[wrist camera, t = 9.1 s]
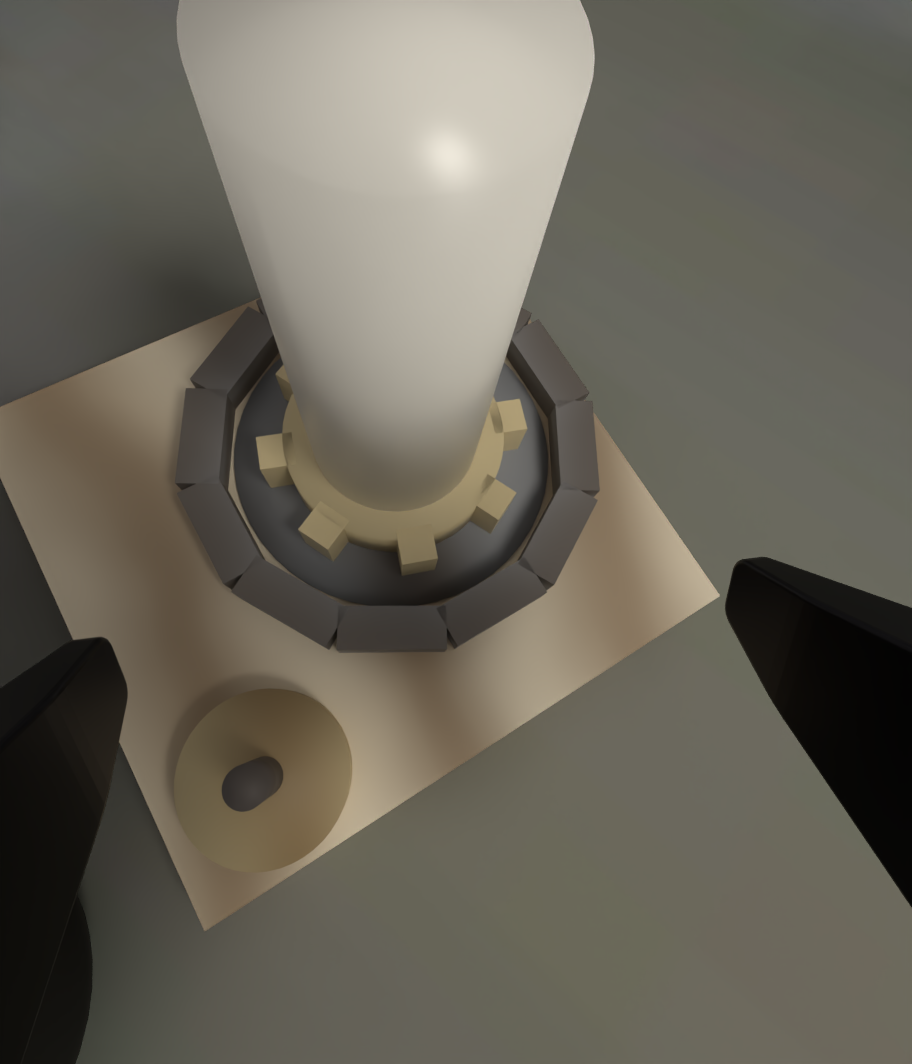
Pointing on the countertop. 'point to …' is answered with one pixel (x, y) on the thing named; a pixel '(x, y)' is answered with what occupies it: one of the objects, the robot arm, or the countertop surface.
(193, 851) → the gear board
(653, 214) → the countertop surface
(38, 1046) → the mug
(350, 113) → the gear spindle
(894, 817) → the robot arm
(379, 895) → the countertop surface
